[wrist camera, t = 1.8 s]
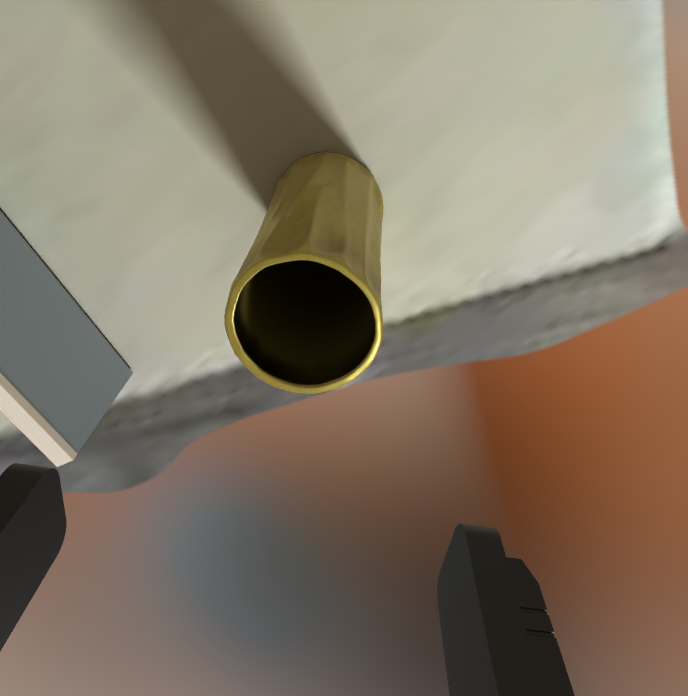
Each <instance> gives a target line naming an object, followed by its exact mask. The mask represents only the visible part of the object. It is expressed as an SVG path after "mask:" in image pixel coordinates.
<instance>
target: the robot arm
mask: <svg viewBox="0 0 688 696" xmlns="http://www.w3.org/2000/svg"><path fill="white" fill-rule="evenodd" d="M65 532H66V516H65V509H64V503H63V496H62V490H61V483H60V477H59V473H58V471H57V470H56V469H55V468H48V467H40V466H33V465H25V464H18V463H15V464H12V465H10V466H9V467H8V468H7V469H6V470H5V471H4V472H3V473H2V475H1V476H0V651H1V649H2V648H3V646H4V644H5V643H6V641H7V639H8V638H9V636H10V634H11V632H12V631H13V629H14V627H15V626H16V624H17V622H18V621H19V619H20V617H21V616H22V614H23V612H24V611H25V609H26V607H27V605H28V604H29V602H30V600H31V599H32V597H33V595H34V594H35V592H36V590H37V589H38V587H39V585H40V584H41V582H42V580H43V579H44V577H45V575H46V573H47V572H48V570H49V568H50V567H51V565H52V563H53V562H54V560H55V558H56V557H57V555H58V553H59V551H60V549H61V546H62V544H63V540H64V536H65ZM437 602H438V610H439V618H440V626H441V634H442V641H443V648H444V657H445V664H446V671H447V680H448V687H449V695H450V696H574V693H573V689H572V686H571V683H570V680H569V677H568V674H567V671H566V668H565V664H564V662H563V658H562V655H561V652H560V649H559V646H558V643H557V640H556V638H554V630H553V627H552V624H551V621H550V618H549V616H548V615H547V608H546V605H545V602H544V599H543V596H542V593H541V589H540V586H539V583H538V582H537V581H536V579H535V578H534V577H533V575H532V574H531V572H530V571H529V570H528V568H527V567H526V565H525V564H524V563H523V561H522V560H521V559H515V558H507V557H506V556H505V552H504V548H503V545H502V541H501V538H500V534H499V532H498V531H497V529H495V528H490V527H482V526H475V525H467V524H458V525H457V527H456V528H455V531H454V533H453V536H452V539H451V542H450V545H449V547H448V550H447V553H446V556H445V558H444V561H443V564H442V566H441V569H440V572H439V577H438V585H437Z"/></svg>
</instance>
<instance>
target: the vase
mask: <svg viewBox="0 0 688 696" xmlns="http://www.w3.org/2000/svg"><path fill="white" fill-rule="evenodd" d="M382 218H383V200H382V195H381V192H380V189H379V187H378V185H377V183H376V181H375V179H374V177H373V176H372V174H371V173H370V172H369V171H368V170H367V169H366V168H365V167H363V166H362V165H361V164H359V163H358V162H357V161H355V160H354V159H352V158H350V157H348V156H345V155H341V154H337V153H331V152H322V153H316V154H312V155H309V156H306V157H304V158H301V159H300V160H298V161H296V162H295V163H294V164H293V165H292V166H290V167H289V169H288V170H287V171H286V172H285V173H284V175H283V176H282V177H281V178H280V180H279V181H278V182H277V185H276V188H275V192H274V196H273V198H272V201H271V203H270V206H269V208H268V211H267V213H266V216H265V218H264V220H263V223H262V225H261V228H260V230H259V232H258V235H257V237H256V239H255V241H254V243H253V245H252V247H251V249H250V251H249V253H248V255H247V257H246V259H245V261H244V263H243V265H242V267H241V269H240V271H239V273H238V274H237V276H236V278H235V280H234V281H233V283H232V286H231V290H230V294H229V298H228V302H227V306H226V310H225V316H224V317H225V328H226V332H227V336H228V338H229V341H230V344H231V346H232V348H233V351H234V353H235V355H236V356H237V357H238V358H239V360H240V361H241V362H242V363H243V365H244V366H245V367H246V368H247V369H248V370H249V371H251V372H252V373H253V374H254V375H255V376H257V377H258V378H260V379H261V380H263V381H264V382H266V383H268V384H270V385H272V386H274V387H277V388H280V389H283V390H287V391H291V392H297V393H307V394H314V393H321V392H325V391H329V390H332V389H335V388H338V387H341V386H343V385H345V384H347V383H349V382H350V381H352V380H353V379H355V378H356V377H357V376H359V375H360V374H361V373H362V372H363V371H364V370H366V369H367V367H368V366H369V365H370V364H371V363H372V361H373V360H374V358H375V356H376V354H377V352H378V350H379V347H380V345H381V341H382V337H383V317H382V305H381V263H380V255H381V234H382V228H381V225H382Z"/></svg>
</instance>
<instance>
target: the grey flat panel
mask: <svg viewBox="0 0 688 696" xmlns="http://www.w3.org/2000/svg"><path fill="white" fill-rule="evenodd" d="M132 373H133V372H132V371H131V370H130V369H129V368H128V366H127V365H126V364H125V363H124V361H123V360H122V359H121V358H120V356H119V355H118V354H117V353H116V352H115V350H114V349H113V348H112V347H111V345H110V344H109V343H108V342H107V341H106V339H105V338H104V337H103V336H102V334H101V333H100V332H99V331H98V330H97V328H96V327H95V326H94V325H93V323H92V322H91V321H90V320H89V318H88V317H87V316H86V315H85V314H84V312H83V311H82V310H81V309H80V307H79V306H78V305H77V304H76V303H75V301H74V300H73V299H72V298H71V296H70V295H69V294H68V293H67V291H66V290H65V289H64V288H63V287H62V285H61V284H60V283H59V282H58V280H57V279H56V278H55V277H54V276H53V274H52V273H51V272H50V271H49V269H48V268H47V267H46V266H45V265H44V263H43V262H42V261H41V260H40V258H39V257H38V256H37V255H36V253H35V252H34V251H33V250H32V249H31V247H30V246H29V245H28V244H27V242H26V241H25V240H24V239H23V238H22V236H21V235H20V234H19V233H18V231H17V230H16V229H15V228H14V226H13V225H12V224H11V223H10V222H9V220H8V219H7V218H6V217H5V215H4V214H3V213H2V212H1V211H0V410H1V411H2V412H3V413H4V414H5V415H6V416H7V417H8V418H9V419H10V420H11V421H12V422H13V423H14V424H15V425H16V426H17V427H18V428H19V429H20V430H21V431H22V432H23V433H24V434H25V435H26V436H27V437H28V438H29V439H30V440H31V441H32V442H33V443H34V444H35V445H36V446H37V447H38V448H39V449H40V450H41V451H42V452H43V453H44V454H45V455H46V456H47V457H48V458H49V459H50V460H51V461H52V462H53V463H54V464H55V465H56V466H57V467H58V466H61V465H63V464H65V463H68V462H70V461H72V460H74V458H75V457H76V455H77V453H78V452H79V450H80V449H81V447H82V446H83V444H84V443H85V442H86V440H87V439H88V437H89V436H90V434H91V433H92V431H93V430H94V429H95V427H96V426H97V424H98V423H99V421H100V420H101V418H102V417H103V416H104V414H105V413H106V411H107V410H108V408H109V407H110V405H111V404H112V402H113V401H114V400H115V398H116V397H117V395H118V394H119V392H120V391H121V389H122V388H123V387H124V385H125V384H126V382H127V381H128V379H129V378H130V376H131V375H132Z"/></svg>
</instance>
